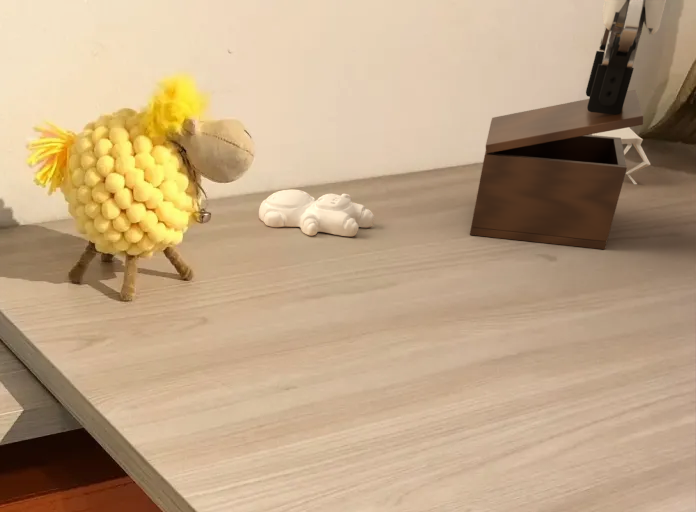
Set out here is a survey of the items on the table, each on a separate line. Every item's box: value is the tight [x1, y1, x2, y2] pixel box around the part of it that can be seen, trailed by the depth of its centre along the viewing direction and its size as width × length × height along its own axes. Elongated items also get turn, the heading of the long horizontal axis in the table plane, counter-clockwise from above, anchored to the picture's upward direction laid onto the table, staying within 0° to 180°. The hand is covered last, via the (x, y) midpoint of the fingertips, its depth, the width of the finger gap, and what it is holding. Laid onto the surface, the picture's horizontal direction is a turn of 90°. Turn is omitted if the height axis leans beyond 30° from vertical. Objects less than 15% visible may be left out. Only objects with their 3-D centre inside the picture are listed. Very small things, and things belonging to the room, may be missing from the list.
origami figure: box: [591, 127, 651, 185], centre depth 125 cm, size 12×8×5 cm
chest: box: [469, 134, 628, 250], centre depth 109 cm, size 14×13×8 cm
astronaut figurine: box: [258, 189, 375, 237], centre depth 109 cm, size 9×12×3 cm
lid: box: [485, 89, 644, 153], centre depth 103 cm, size 14×13×5 cm
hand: (602, 102), depth 103 cm, fingers closed on lid, 6 cm apart
